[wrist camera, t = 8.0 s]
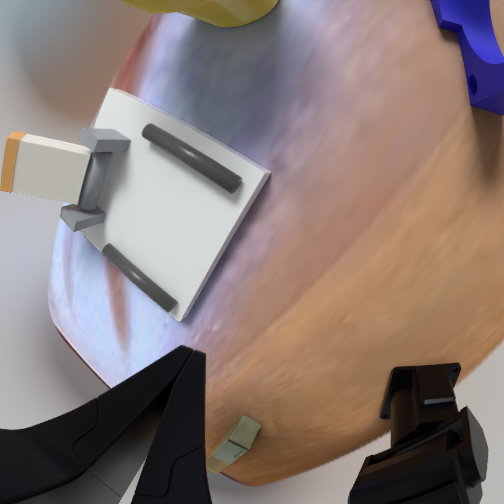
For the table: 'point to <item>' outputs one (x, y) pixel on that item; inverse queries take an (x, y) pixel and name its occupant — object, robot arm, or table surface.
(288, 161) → the table surface
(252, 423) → the medication box
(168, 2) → the plant pot
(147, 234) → the white base plate
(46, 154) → the lever
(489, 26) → the cable clip
